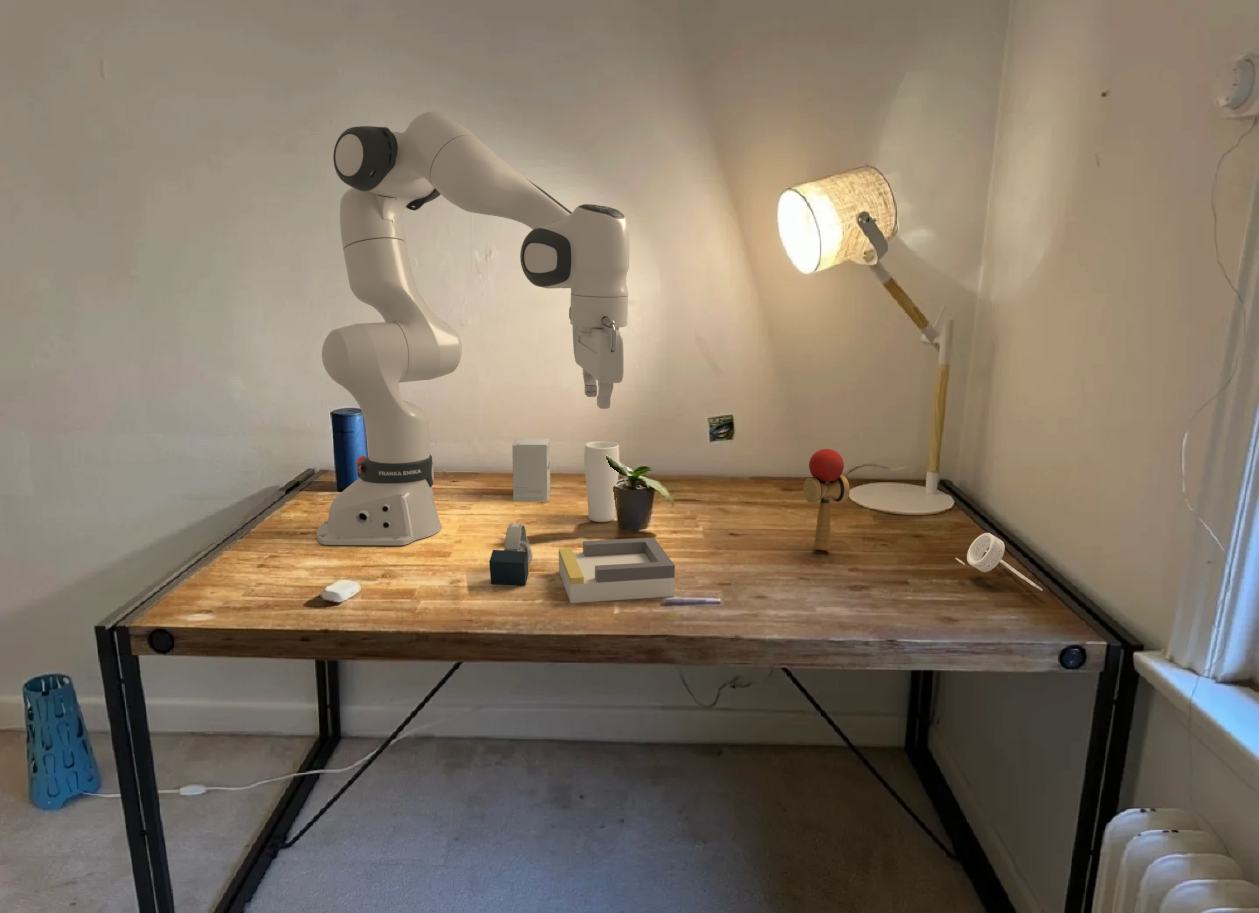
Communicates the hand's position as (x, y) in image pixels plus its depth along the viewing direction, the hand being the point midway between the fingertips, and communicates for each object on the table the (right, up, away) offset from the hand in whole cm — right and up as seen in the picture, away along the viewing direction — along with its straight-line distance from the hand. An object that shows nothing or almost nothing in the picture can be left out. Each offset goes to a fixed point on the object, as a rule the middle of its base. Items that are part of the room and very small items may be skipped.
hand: (596, 401), depth 145 cm
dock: (+3, -29, +1) cm, 29 cm away
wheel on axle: (+63, -29, +7) cm, 70 cm away
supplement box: (-15, -18, +49) cm, 54 cm away
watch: (-14, -27, -2) cm, 31 cm away
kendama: (+40, -25, +19) cm, 51 cm away
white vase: (0, -21, +35) cm, 41 cm away
